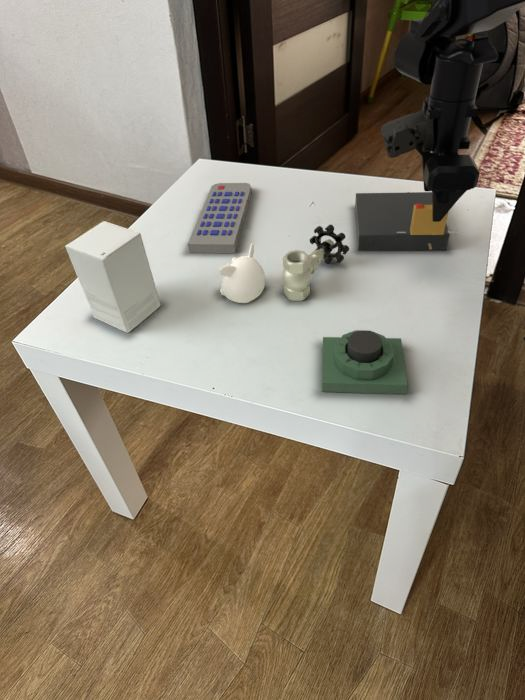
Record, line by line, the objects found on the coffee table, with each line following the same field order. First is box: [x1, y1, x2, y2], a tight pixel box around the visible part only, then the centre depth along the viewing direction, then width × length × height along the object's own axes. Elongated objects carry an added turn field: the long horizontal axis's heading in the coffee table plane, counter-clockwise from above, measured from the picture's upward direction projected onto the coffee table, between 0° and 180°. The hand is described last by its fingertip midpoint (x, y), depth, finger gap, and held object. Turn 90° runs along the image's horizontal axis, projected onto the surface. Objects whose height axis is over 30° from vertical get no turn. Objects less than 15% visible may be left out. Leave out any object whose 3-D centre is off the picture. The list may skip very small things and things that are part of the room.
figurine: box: [218, 242, 266, 304], centre depth 73 cm, size 8×6×7 cm
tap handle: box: [410, 204, 450, 235], centre depth 77 cm, size 5×1×5 cm, turn 84°
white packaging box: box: [64, 220, 161, 334], centre depth 70 cm, size 7×7×13 cm
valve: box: [281, 224, 350, 302], centre depth 74 cm, size 7×7×12 cm
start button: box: [347, 329, 382, 363], centre depth 60 cm, size 4×4×2 cm
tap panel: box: [354, 191, 458, 252], centre depth 83 cm, size 15×18×3 cm
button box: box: [321, 329, 409, 395], centre depth 61 cm, size 10×8×4 cm
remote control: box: [187, 182, 252, 254], centre depth 91 cm, size 8×23×2 cm, turn 173°
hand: (431, 205), depth 75 cm, fingers open, 9 cm apart
